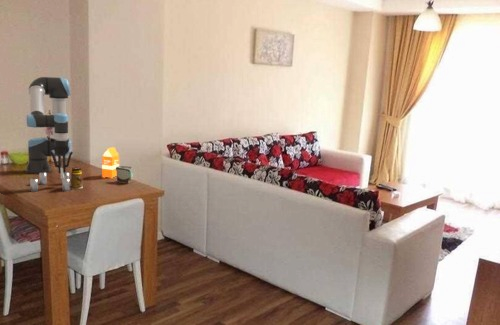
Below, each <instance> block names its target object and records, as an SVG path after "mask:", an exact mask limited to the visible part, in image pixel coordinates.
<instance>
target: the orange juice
mask: <svg viewBox="0 0 500 325" xmlns="http://www.w3.org/2000/svg"><path fill="white" fill-rule="evenodd" d="M101 158H102V159H101V160H102V161H101V169H102V170H101V171H102V172H101V174H102V176H101V177H102V178H105V177H110V178H109V179H114V178H113V177H115V176H117V174H116V170H115V169H116V167H117V166H120V155H119V153H118V151H117V150H116V147H114V146H113V147H109V148H107V149H106V150H105V152H104V153H103V154H102V156H101ZM115 178H116V177H115Z"/></svg>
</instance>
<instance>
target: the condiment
mask: <svg viewBox="0 0 500 325" xmlns="http://www.w3.org/2000/svg"><path fill="white" fill-rule="evenodd" d="M70 174H71V175H70V176H71V177H70V181H71V182H70V183H71V184H70V190H71V189H83V188H84V187H83V172H82V167H77V166H76V167H72V168H71V172H70Z"/></svg>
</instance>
